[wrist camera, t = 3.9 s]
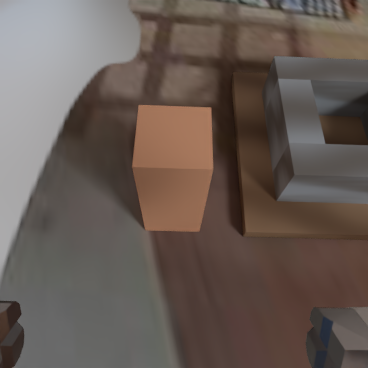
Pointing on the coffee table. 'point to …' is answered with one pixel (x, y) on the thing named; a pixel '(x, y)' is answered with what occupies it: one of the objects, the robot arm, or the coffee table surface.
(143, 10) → the coffee table surface
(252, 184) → the well
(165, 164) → the post
